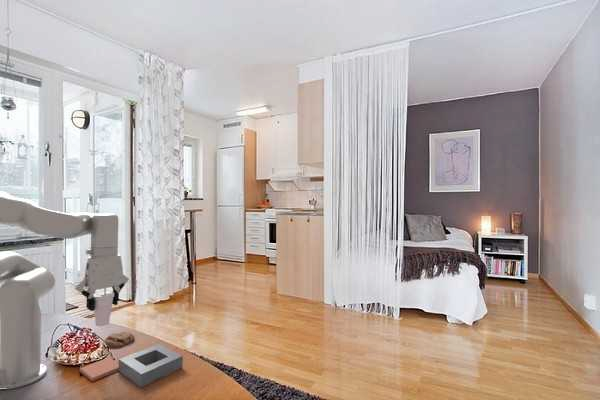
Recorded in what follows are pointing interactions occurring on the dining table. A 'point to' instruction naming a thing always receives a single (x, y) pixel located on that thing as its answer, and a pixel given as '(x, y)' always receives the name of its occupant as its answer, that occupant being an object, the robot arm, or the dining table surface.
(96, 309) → the smoothie
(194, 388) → the dining table surface
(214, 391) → the dining table surface
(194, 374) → the dining table surface
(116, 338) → the cookie
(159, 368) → the box
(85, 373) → the pad
